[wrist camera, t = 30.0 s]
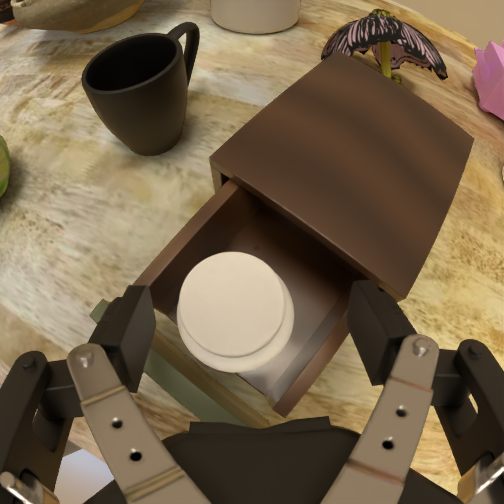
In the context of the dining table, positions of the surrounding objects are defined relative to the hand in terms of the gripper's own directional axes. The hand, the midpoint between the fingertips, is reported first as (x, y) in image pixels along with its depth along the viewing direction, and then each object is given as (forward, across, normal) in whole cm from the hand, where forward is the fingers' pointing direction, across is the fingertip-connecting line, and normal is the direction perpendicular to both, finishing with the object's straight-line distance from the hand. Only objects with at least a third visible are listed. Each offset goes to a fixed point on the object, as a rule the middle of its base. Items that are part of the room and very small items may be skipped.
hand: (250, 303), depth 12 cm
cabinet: (+15, -8, +1) cm, 16 cm away
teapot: (+28, -36, -12) cm, 48 cm away
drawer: (+7, +1, +8) cm, 10 cm away
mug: (+22, +8, -6) cm, 24 cm away
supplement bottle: (+6, +1, +7) cm, 9 cm away
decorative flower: (+26, -15, -11) cm, 32 cm away
